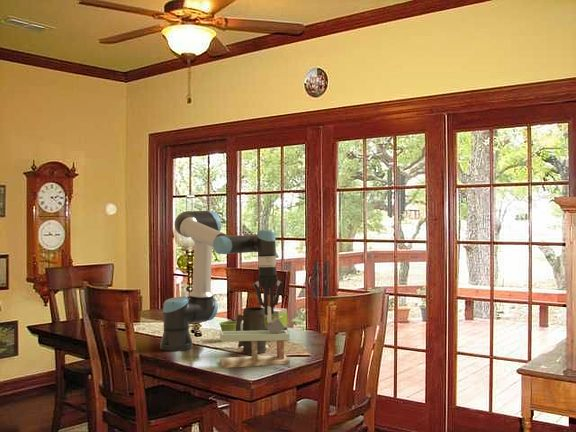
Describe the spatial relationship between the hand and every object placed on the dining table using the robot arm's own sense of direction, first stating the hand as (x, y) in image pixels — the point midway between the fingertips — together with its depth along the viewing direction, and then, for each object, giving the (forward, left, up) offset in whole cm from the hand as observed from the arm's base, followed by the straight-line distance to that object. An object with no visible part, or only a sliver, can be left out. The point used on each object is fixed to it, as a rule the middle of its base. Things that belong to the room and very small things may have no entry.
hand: (269, 322), depth 260 cm
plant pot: (-13, +51, -17) cm, 55 cm away
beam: (-7, 0, -7) cm, 9 cm away
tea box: (+8, +52, -17) cm, 56 cm away
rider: (0, 0, -4) cm, 4 cm away
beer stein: (-6, +20, -17) cm, 27 cm away
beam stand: (-7, 0, -17) cm, 18 cm away
